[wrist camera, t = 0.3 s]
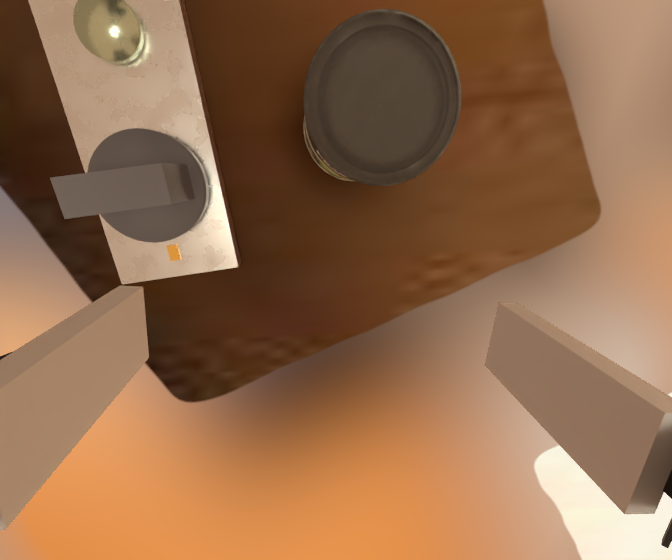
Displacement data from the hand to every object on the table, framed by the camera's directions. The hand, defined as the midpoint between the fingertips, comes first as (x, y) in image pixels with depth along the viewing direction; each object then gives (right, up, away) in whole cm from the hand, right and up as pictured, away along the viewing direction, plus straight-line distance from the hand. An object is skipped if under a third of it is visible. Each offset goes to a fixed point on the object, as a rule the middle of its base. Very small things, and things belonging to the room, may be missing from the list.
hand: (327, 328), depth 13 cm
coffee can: (+2, +17, +23) cm, 29 cm away
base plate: (-18, +16, +21) cm, 32 cm away
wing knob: (-17, +11, +21) cm, 29 cm away
